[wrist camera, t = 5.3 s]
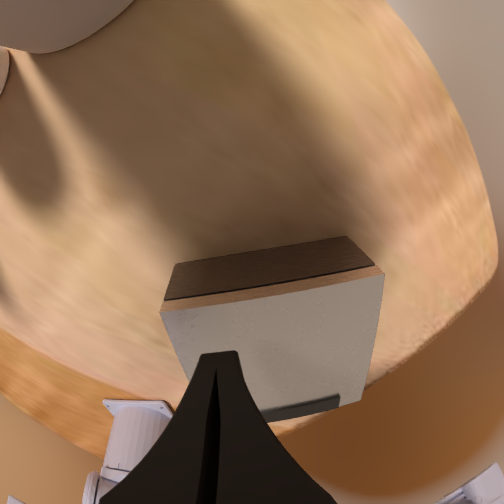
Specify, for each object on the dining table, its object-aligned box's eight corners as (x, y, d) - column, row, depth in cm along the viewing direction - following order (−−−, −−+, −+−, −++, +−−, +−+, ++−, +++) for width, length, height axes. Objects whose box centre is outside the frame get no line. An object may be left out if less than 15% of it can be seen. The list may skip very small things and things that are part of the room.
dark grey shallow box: (340, 354, 24) (355, 388, 20) (213, 377, 23) (212, 415, 19) (347, 236, 18) (375, 263, 15) (175, 263, 18) (163, 299, 14)
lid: (356, 391, 19) (361, 402, 18) (212, 418, 19) (212, 429, 18) (376, 265, 14) (386, 275, 13) (162, 301, 14) (158, 314, 13)
